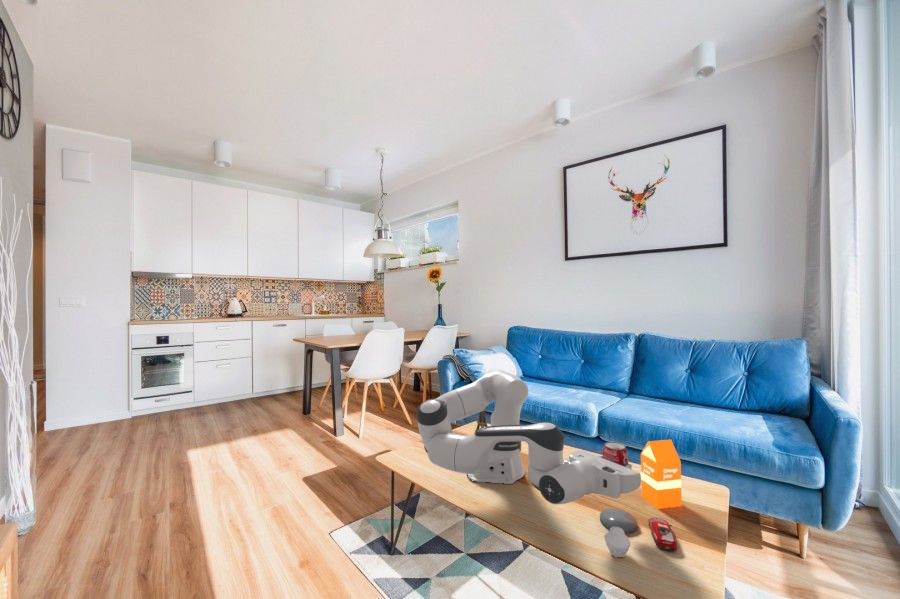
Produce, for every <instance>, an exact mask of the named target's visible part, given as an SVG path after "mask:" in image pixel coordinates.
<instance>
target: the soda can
mask: <svg viewBox="0 0 900 599" xmlns="http://www.w3.org/2000/svg"><path fill="white" fill-rule="evenodd" d="M626 447H627V446H626V445H625V444H623V443H621V442H618V441H606V442H605V443H604V446H603V447H602V456H603V458H604V459H606V460H609V461H611V462H614V463H617V464H619V465H622V466H624V464H627V463H628V464H629V453H628V450H627V448H626Z"/></svg>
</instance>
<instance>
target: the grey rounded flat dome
mask: <svg viewBox="0 0 900 599" xmlns="http://www.w3.org/2000/svg"><path fill="white" fill-rule="evenodd" d="M599 519H600V524H601V523H602V524H601V525H602V526H603V527H604V528H606V529H607V530H609V531H610V528H611V527H613V526H616V527H620V528H621V529H622V530H623V531H624V533H625V535H627V534H633V533H635V532H636V531H637V529H638V521H637V519H636V518H635V516H633V515H632V514H630V513H629V512H627V511H624V510H622V509H616V508H606V509H603V510H602V511H601V512H600V514H599Z"/></svg>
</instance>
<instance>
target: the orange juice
mask: <svg viewBox="0 0 900 599" xmlns="http://www.w3.org/2000/svg"><path fill="white" fill-rule="evenodd" d="M681 461H682V460H681V459H680V457H679V455H678V452H677V450H676V448H675V446H674V444H673V440H672V439H662V440H661V439H660V440H652V441H647V443H646V444H645V446H644V448H643V450H642V451H641V453H640V475H641V486H640V487H641V498H643V499H644V501H646V502H648V503H650V505H652V506H653V507H654V508H655V509H657V510H660V509H661V510H662V509H668V507H670V508H677V506H678V507H682V506H683V504H682V503H683V502H682V501H683V500H682V474H681V473H682V469H681V468H682V464H681V463H682V462H681Z"/></svg>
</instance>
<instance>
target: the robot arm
mask: <svg viewBox="0 0 900 599" xmlns="http://www.w3.org/2000/svg"><path fill="white" fill-rule="evenodd" d="M528 396H529V388H528V384H527V383H525V381H523V379H522V378H520V377H519V376H517V375H515V374H512V373H510V372H506V371H504V370H502V369H491V370H489V371H487V372H486V374H485V375H483V376H482V377H479V378H478V379H476V380H475V381H473V382H472V383H469V384H466V385H463V386H460V387H458V388H455V389H453V390H450V391H448V392H445V393H443V394H441V395H440V396H438V397H437V398H429V399H426V400H425V401H422V402H421V403H420V404H419V405H418V407H417V409H416V421H417V424H418V425H417V426H418V431H419V435H420V437H421V440H422V443H423V445H424V446H423V449H424V450H425V452H426V454H427V457H428V460H429V461H430V462H431V464H433V465H435V466H438V467H440V468H442V469H444V470H449V471H451V472H456V473H460V474H465V475H466V476H467V475H468V476H467V478H468V477H469V478H470V479H471V480H473V481H478V482H477V483H485V482H491V483H490V484H502V483H504V485H505V484H506V485H512V484H514V483H515V482H516V481H518V480H521V479H522V478H523V477H524V476H525V470H524V466H523V462H522V453H521V451H522V442H525V443H526V444H527V446H528V449H527V450H528V461H527V475H528V476H527V477H528V481H529V482H530V483H531V485H532V486H533V487H534V488H535V489H536V490H537V491H538V492H540V494H541V495H542V497H543V499H544V500H546V501H547V502H548V503H550V504H552V505H565V504H569V503H572V502H575V501H578V500H580V499H581V498H583V497H584V496H588V495H591V494H594V495H602V496H605V497H611V498H614V499H617V498H620V497H621V494H628V493H631V492H634V491H635V490H637V489H639V488H641V487H642V486H641V472H639V471H637V470H634V469H633V468H632V467H633V465H632V464H630V463H629V462H628V463H627V464H624V466H622V465H619V464H617V463H614V462H611V461H609V460H606V459H604V458H603V455H596V454H593V453H591V452H587V451H585V450H582V449H579V450H575V451H574V452H571V453H570V454H569V455H568V456H567V457H566V458H565V457H564V446H565V435H564V433H563V431H562V430H561V429H560V428H559V427H558V426H557V425H556V424H555V423H551V422H537V423H528V424H520V416H521V412H522V407H523V404H524V403H525V402H526V401H527V399H528ZM493 402H495V404H494V409H493V411H492V413H491V414H490V425H489V426H488V425H487V426H488V427H485V426H484V427H483V428H481V427H480V428H479V429H478V430H477V431H476V433H475V432H474V433H475V434H474V433H473V434H469V435H467V434H466V435H465V434H458V433H453V429H452V428H453V427H452V423H453V422H457V421H461V420H462V419H463V420H464V419H467V418H468V417H471V416H473V415H476V414H479V412H481V411H483V410H484V409H485V410H486V407H488V406H489V405H491V403H493ZM469 478H468V479H469ZM470 479H469V480H470ZM471 480H470V481H471ZM473 481H472V482H473Z"/></svg>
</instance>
